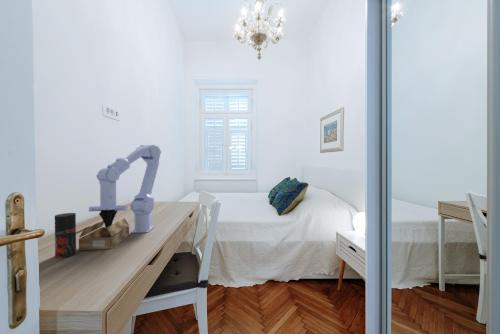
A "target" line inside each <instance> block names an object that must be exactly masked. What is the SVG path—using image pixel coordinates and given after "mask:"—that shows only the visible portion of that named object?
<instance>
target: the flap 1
mask: <svg viewBox="0 0 500 334" xmlns="http://www.w3.org/2000/svg"><path fill="white" fill-rule="evenodd" d="M104 225H105V224H104V221H103V219H102V220H100V221H97V222H95V223H93V224H90V225H88V226H87V227H84V228H83V230H82V231H81V233H80V235H79V237H78V238H82V237H84V236H86V235H88V234H90V233H92V232H94V231H95V230H97V229H99V228H101V227H103V226H104Z"/></svg>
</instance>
